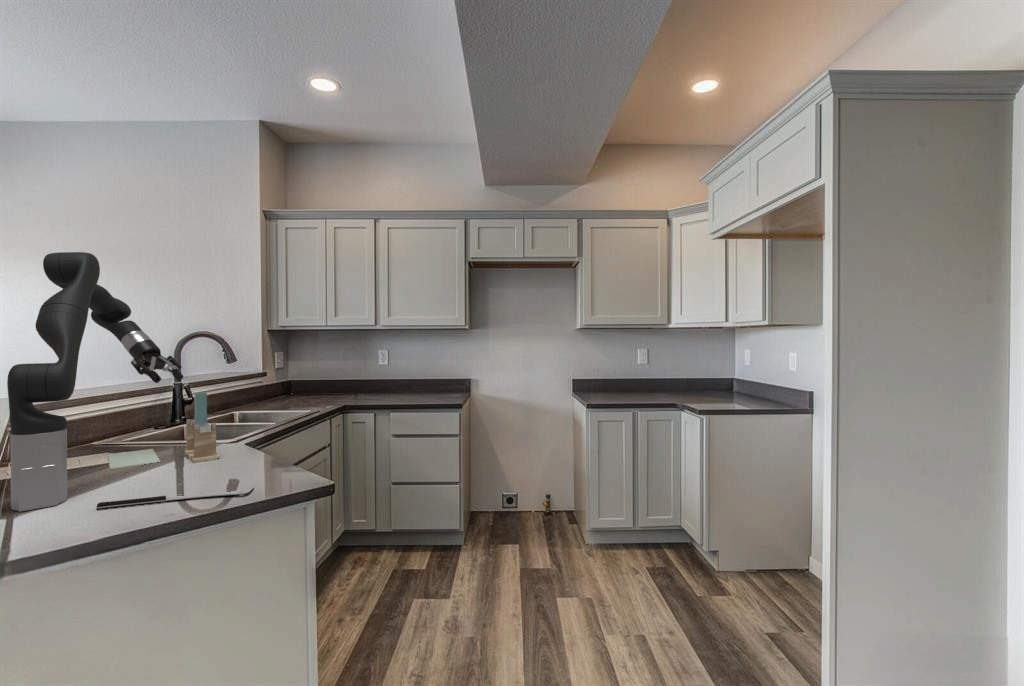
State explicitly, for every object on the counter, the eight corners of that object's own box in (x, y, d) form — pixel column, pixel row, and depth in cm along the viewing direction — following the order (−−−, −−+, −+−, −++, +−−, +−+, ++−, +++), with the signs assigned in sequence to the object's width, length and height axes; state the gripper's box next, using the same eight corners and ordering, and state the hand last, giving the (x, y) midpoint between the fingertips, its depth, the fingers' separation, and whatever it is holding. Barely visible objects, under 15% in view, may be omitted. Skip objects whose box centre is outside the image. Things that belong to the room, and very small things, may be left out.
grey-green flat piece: (211, 431, 147) (211, 394, 147) (200, 432, 145) (199, 395, 145) (201, 424, 160) (201, 390, 160) (191, 425, 158) (190, 391, 158)
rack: (218, 459, 148) (218, 423, 148) (193, 463, 143) (192, 426, 143) (208, 449, 162) (207, 417, 162) (184, 452, 157) (183, 419, 157)
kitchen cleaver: (257, 482, 121) (249, 489, 112) (257, 489, 121) (249, 496, 112) (113, 496, 111) (91, 505, 101) (113, 504, 111) (90, 513, 101)
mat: (160, 462, 144) (160, 461, 144) (109, 469, 136) (109, 468, 136) (152, 449, 162) (152, 448, 162) (107, 455, 154) (107, 454, 154)
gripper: (127, 338, 148) (158, 373, 147) (166, 339, 163) (194, 371, 161) (113, 355, 149) (143, 390, 148) (153, 354, 163) (181, 386, 162)
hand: (170, 380), depth 154 cm, fingers open, 8 cm apart
